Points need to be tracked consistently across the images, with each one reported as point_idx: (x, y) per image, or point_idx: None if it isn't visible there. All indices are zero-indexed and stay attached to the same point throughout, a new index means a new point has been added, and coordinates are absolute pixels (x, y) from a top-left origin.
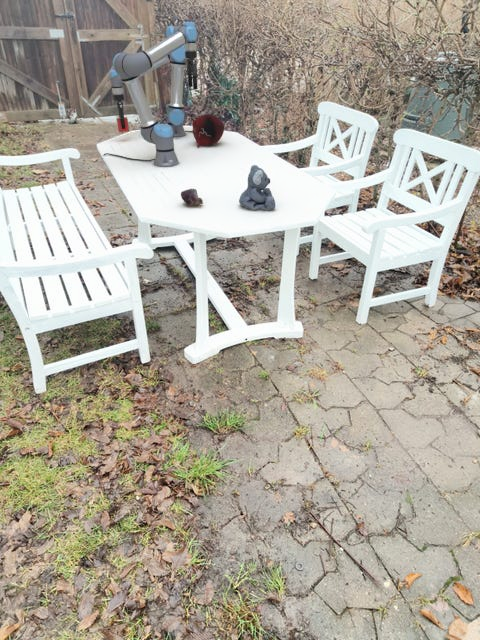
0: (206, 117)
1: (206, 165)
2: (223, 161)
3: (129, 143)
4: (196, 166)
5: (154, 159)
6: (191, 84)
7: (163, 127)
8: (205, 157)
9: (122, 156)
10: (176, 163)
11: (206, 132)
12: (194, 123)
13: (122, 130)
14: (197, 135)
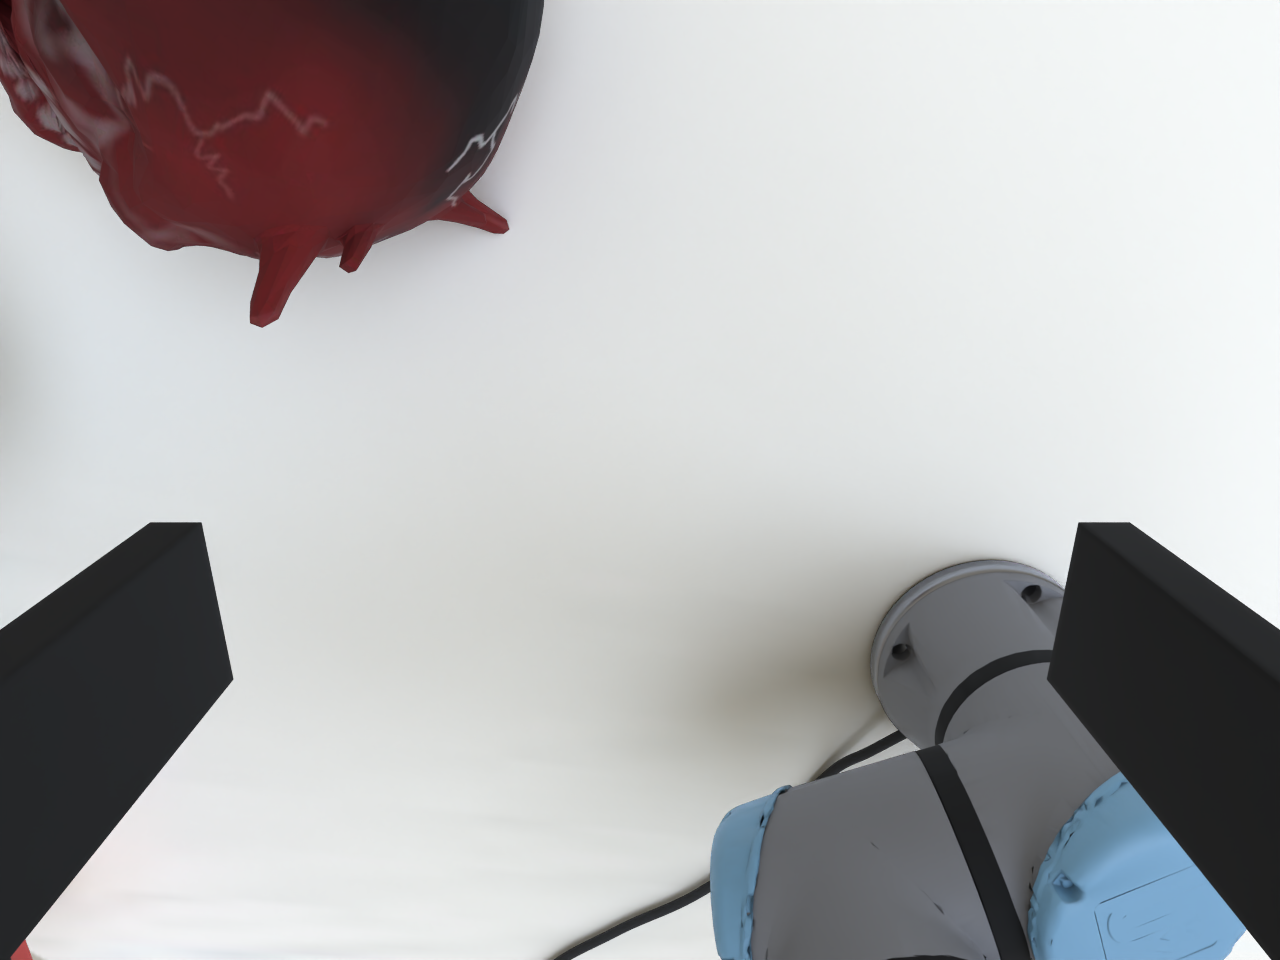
0: (327, 17)
1: (1237, 326)
2: (1204, 95)
3: (133, 826)
4: (1211, 428)
5: (889, 745)
6: (165, 612)
7: (1201, 918)
8: (943, 253)
9: (635, 927)
10: (1064, 589)
11: (513, 97)
12: (355, 269)
13: (17, 957)
14: (423, 221)
